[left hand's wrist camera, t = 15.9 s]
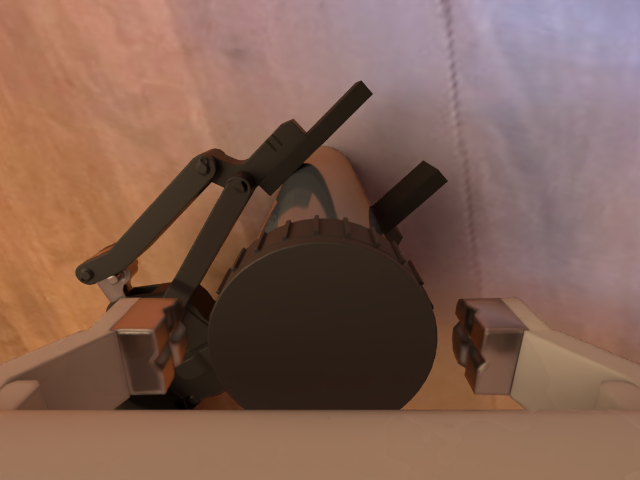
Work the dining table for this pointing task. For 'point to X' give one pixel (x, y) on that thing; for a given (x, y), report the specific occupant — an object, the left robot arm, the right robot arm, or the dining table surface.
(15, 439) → the left robot arm
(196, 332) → the right robot arm
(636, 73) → the dining table surface
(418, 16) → the dining table surface
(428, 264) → the dining table surface
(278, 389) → the lid
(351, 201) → the grey bottle
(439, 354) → the dining table surface
